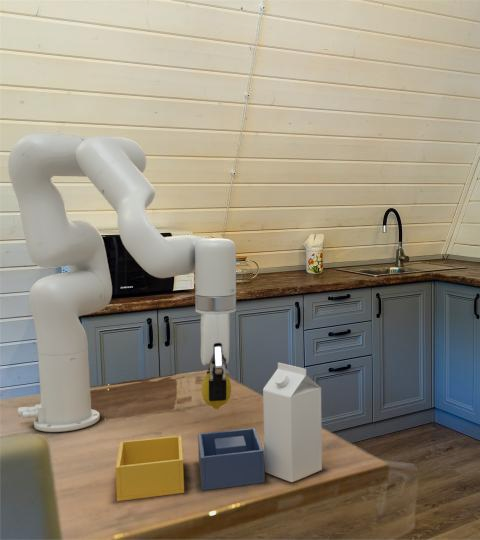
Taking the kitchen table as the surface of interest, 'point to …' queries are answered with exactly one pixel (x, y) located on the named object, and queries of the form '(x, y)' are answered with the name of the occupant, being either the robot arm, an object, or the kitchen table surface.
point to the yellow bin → (149, 468)
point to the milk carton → (292, 424)
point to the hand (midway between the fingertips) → (216, 394)
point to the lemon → (206, 392)
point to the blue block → (230, 445)
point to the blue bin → (230, 461)
